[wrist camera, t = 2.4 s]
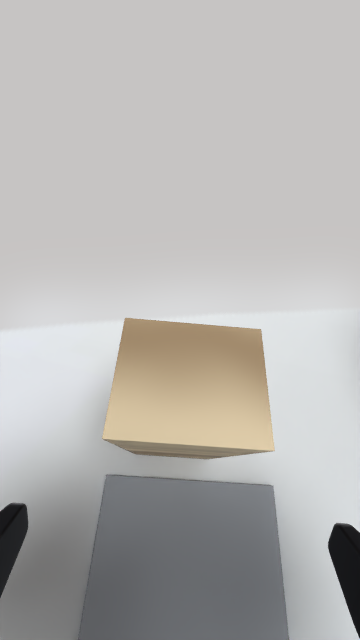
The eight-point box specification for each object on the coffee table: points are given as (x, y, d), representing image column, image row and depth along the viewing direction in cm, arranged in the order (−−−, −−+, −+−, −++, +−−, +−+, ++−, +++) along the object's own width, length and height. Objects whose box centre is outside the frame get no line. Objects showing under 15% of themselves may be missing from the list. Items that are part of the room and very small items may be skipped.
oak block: (207, 459, 18) (274, 450, 7) (135, 454, 18) (101, 439, 7) (208, 400, 20) (261, 329, 9) (143, 395, 20) (125, 318, 9)
